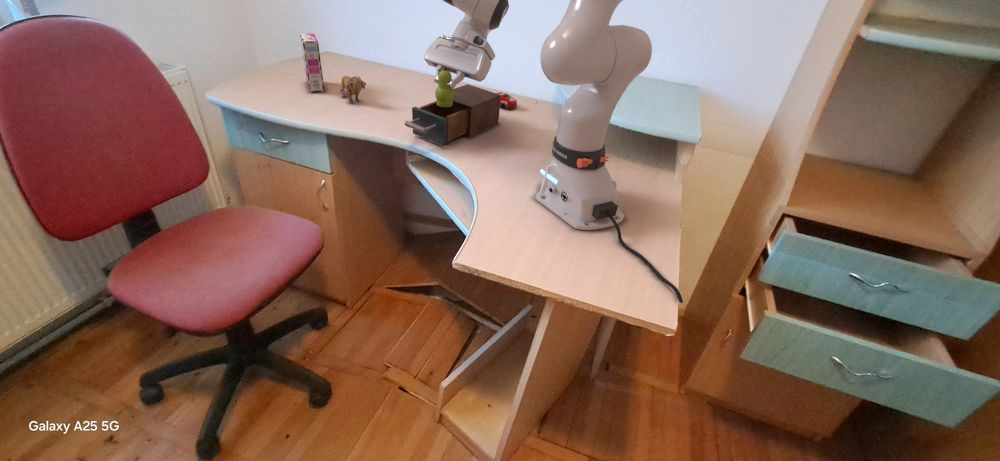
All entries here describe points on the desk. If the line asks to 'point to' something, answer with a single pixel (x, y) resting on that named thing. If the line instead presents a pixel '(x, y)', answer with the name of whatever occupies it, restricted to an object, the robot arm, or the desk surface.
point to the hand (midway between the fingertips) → (443, 84)
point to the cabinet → (478, 108)
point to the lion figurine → (352, 87)
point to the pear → (444, 89)
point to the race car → (507, 101)
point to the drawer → (439, 122)
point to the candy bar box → (312, 62)
